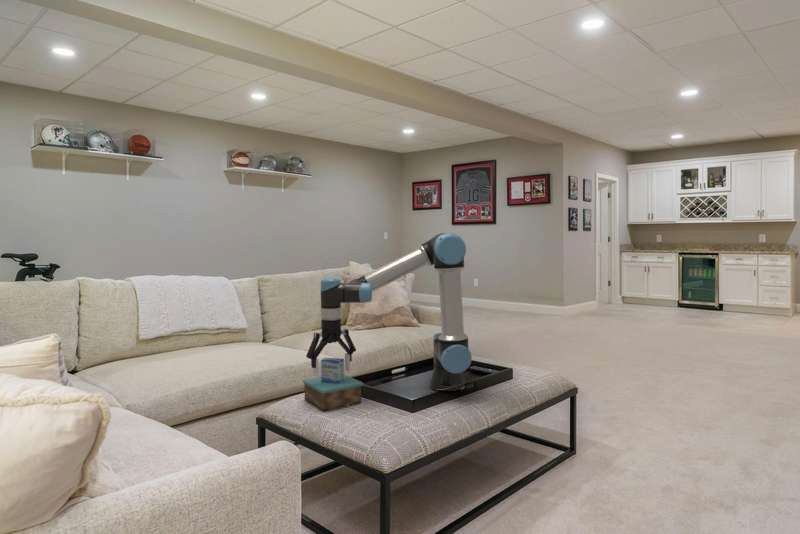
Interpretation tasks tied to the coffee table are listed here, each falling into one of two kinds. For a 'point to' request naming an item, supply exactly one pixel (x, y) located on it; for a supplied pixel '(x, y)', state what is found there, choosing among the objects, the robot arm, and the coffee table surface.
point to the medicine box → (332, 370)
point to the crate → (332, 398)
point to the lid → (332, 384)
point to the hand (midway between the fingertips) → (332, 373)
